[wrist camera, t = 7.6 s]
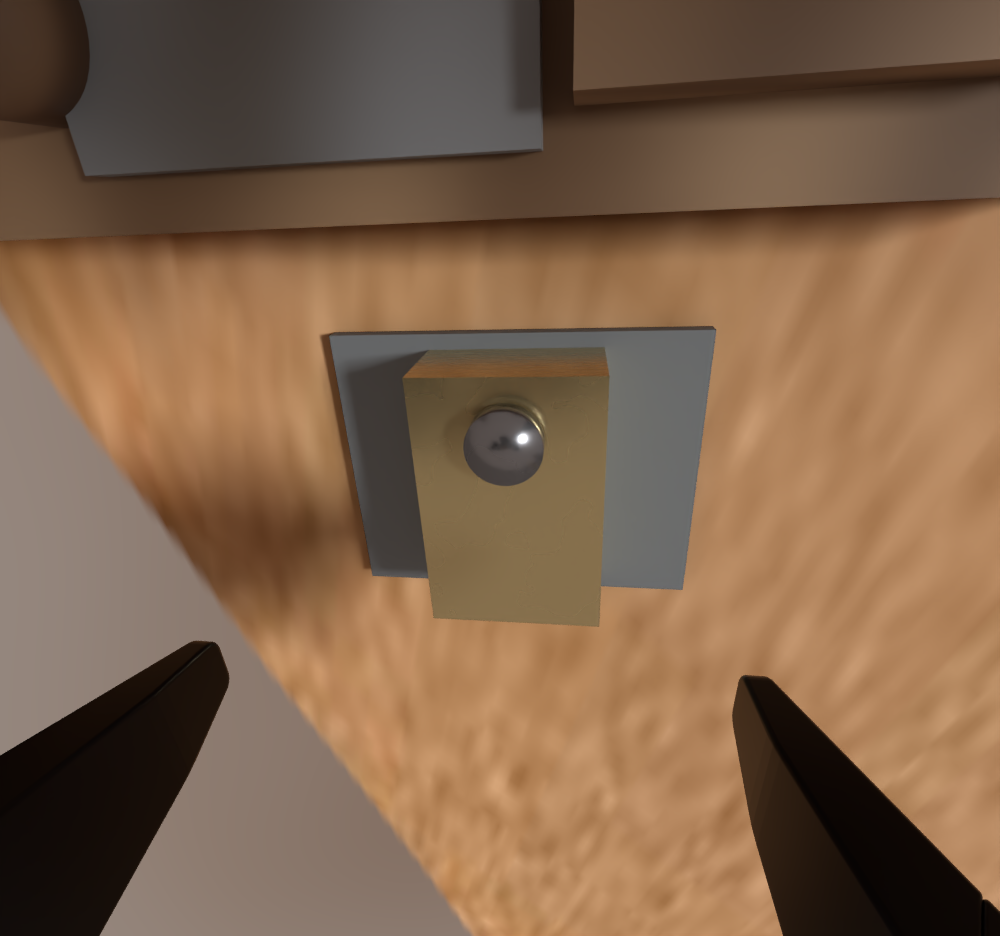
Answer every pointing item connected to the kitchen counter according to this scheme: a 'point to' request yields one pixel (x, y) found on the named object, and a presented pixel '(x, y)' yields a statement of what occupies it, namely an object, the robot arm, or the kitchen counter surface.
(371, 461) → the mat
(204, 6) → the plane body
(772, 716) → the robot arm
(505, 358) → the lever cap
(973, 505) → the kitchen counter surface
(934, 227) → the kitchen counter surface
